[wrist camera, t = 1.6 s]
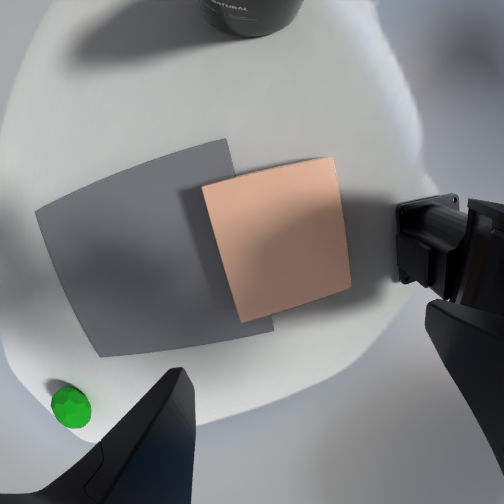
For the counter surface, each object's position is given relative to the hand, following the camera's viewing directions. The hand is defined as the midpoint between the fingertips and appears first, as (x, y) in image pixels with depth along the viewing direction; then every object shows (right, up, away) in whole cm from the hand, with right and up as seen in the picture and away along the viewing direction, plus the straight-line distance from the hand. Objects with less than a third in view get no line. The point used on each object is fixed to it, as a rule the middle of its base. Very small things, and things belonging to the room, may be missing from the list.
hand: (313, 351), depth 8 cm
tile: (-4, +3, +10) cm, 11 cm away
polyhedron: (-22, -14, +17) cm, 31 cm away
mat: (-10, +2, +12) cm, 15 cm away
